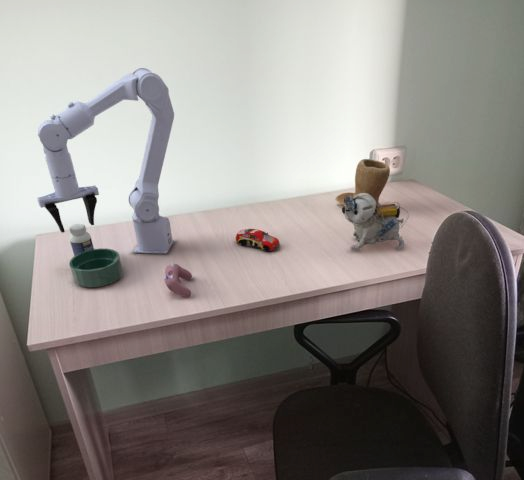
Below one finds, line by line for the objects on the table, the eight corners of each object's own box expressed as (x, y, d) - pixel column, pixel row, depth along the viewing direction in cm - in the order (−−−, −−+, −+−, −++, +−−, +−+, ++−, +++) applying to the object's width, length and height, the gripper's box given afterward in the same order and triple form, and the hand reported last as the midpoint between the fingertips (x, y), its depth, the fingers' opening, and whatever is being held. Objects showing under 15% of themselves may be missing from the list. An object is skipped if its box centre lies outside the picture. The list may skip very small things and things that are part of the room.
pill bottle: (91, 266, 132) (81, 231, 126) (72, 264, 132) (62, 230, 127) (100, 256, 136) (91, 223, 130) (82, 255, 137) (72, 222, 131)
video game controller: (178, 284, 125) (162, 262, 121) (193, 275, 124) (177, 254, 120) (176, 304, 117) (159, 282, 113) (192, 296, 116) (175, 273, 112)
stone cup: (392, 213, 153) (399, 164, 144) (360, 220, 150) (365, 170, 140) (364, 198, 164) (369, 151, 155) (334, 204, 161) (336, 157, 152)
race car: (283, 246, 137) (283, 233, 135) (273, 254, 134) (273, 240, 131) (244, 236, 143) (243, 223, 141) (233, 243, 140) (232, 230, 137)
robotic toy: (334, 238, 140) (337, 186, 131) (394, 234, 141) (401, 181, 132) (344, 259, 130) (348, 203, 121) (409, 254, 131) (418, 198, 122)
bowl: (129, 266, 131) (126, 248, 128) (113, 289, 121) (108, 271, 118) (86, 265, 132) (81, 247, 129) (66, 288, 123) (60, 270, 119)
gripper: (87, 164, 126) (99, 216, 134) (28, 176, 120) (44, 229, 128) (96, 171, 121) (108, 224, 129) (35, 184, 115) (51, 238, 123)
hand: (77, 227), depth 128 cm, fingers open, 7 cm apart
